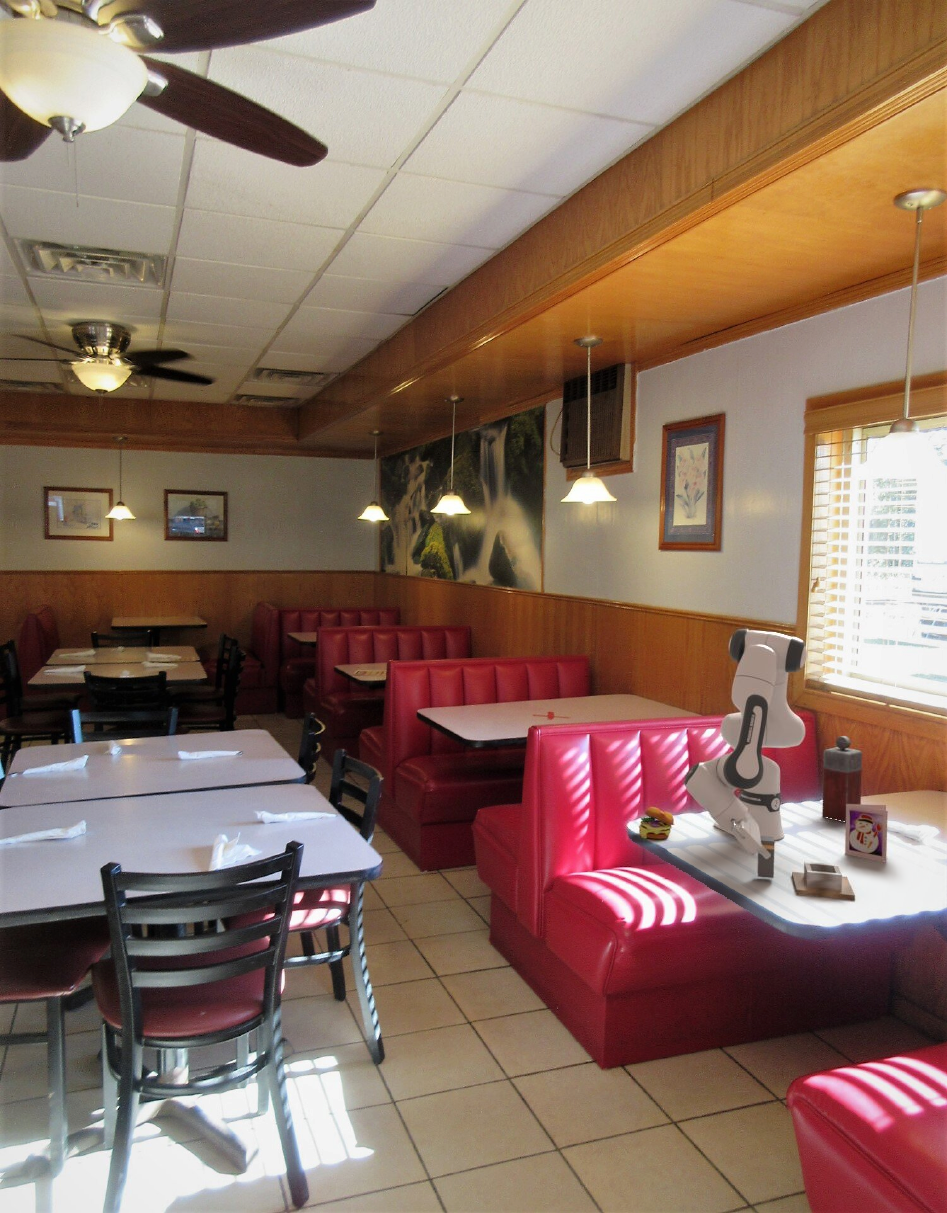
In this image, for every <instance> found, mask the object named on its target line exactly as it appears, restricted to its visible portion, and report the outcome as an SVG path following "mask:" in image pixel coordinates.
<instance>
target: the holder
mask: <svg viewBox="0 0 947 1213" xmlns="http://www.w3.org/2000/svg"><path fill="white" fill-rule="evenodd" d="M791 877H792V881H793V886H794V889H795V893H796V895H801V896H811V897H820V898H821V897H823V898H832V899H841V900H851V901H856V894H855V893H854V890H853V888H852V885H851V884H850V881H849V879H848V876H843V875H842V871H841V869H840V867H839V865H838V864H836V863H824V862H823V863H822V862H813V861H804V863H803V872H800V871H799V872H798V871H791Z"/></svg>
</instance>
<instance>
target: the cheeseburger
mask: <svg viewBox="0 0 947 1213" xmlns="http://www.w3.org/2000/svg"><path fill="white" fill-rule="evenodd" d="M644 814H645V815H646V817H645V816H643V817H641V818H640V820H641V821H639V822H640V825H639V826H638V830H639V834H640V836H641V838H642V839H661V840H665V839H668V838H669V836H670V834H671V832H672V830H671V829H672V826H674V825H675V822H674V821H675V820H674V817H673V814H672V813H671V812H668V811H662V810H660V809H659V808H658V807H654V806H650V807H648V809H646V810H645V812H644Z"/></svg>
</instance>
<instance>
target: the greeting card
mask: <svg viewBox="0 0 947 1213" xmlns="http://www.w3.org/2000/svg"><path fill="white" fill-rule="evenodd" d="M887 841H888V810H887V805H886V804H862V803H861V804H846V823H845V841H844V842H845V846H844V847H845V848H844V855H849V856H853V857H858V856H859V857H858V858H863V859H867V858H868V860H872V859H873V860H874V861H877V860H878V861H879V862H882V861H885V862H884V863H887V854H888V852H887V851H888V850H887V849H888V848H887V847H888V846H887V845H888V842H887Z"/></svg>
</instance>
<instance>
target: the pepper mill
mask: <svg viewBox="0 0 947 1213" xmlns="http://www.w3.org/2000/svg"><path fill="white" fill-rule="evenodd" d="M851 743H852V742H851V740H850V738H849V737H848V736H846V735H842V736H838V737H837V738H836V739H835V745H836V747H831V748H828V749H824V751H823V770H822V771H823V772H822V774H823V775H822V776H823V777H822V778H823V779H822V816H821V817H822V818H824V817H828V818H832V819H837V820H841V821H845V822H846V804H862V801H861V800H862V777H863V776H862V770H863V768H862V767H863V766H862V765H863V752H862V750H858V749H853V748H850V746H851ZM828 818H827V819H828ZM832 819H831V820H832Z"/></svg>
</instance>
